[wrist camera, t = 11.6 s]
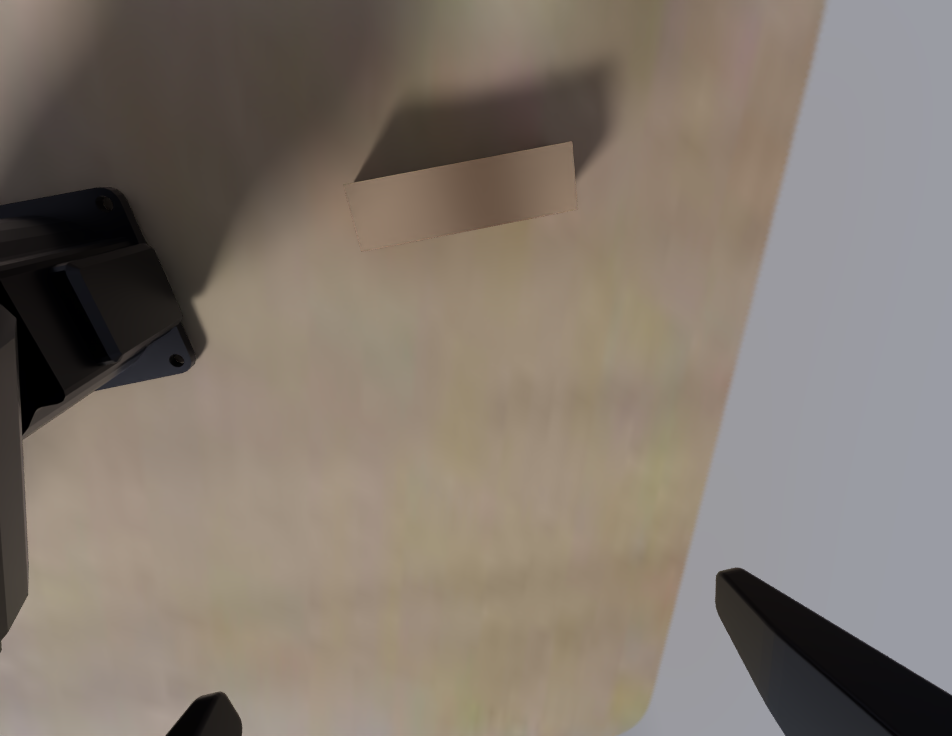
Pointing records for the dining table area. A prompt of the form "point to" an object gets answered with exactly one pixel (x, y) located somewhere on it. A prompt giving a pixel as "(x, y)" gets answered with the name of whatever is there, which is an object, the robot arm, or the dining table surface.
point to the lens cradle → (463, 196)
